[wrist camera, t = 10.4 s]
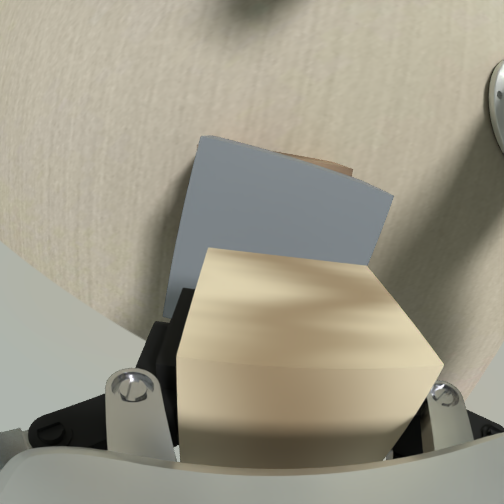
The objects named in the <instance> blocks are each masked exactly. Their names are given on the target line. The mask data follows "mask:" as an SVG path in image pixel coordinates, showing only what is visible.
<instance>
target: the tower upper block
mask: <svg viewBox="0 0 504 504" xmlns="http://www.w3.org/2000/svg"><path fill="white" fill-rule="evenodd" d="M393 197H394V196H393V195H391V194H389V193H387V192H385V191H383V190H381V189H379V188H377V187H375V186H373V185H370V184H368V183H366V182H364V181H362V180H359V179H356V178H353V177H351V176H348V175H345V174H342V173H339V172H336V171H333V170H330V169H327V168H324V167H321V166H318V165H315V164H312V163H309V162H306V161H303V160H300V159H296V158H293V157H290V156H287V155H283V154H280V153H276V152H273V151H269V150H266V149H262V148H259V147H255V146H252V145H248V144H244V143H240V142H236V141H233V140H229V139H225V138H221V137H217V136H201V137H200V141H199V145H198V149H197V153H196V156H195V160H194V164H193V169H192V173H191V177H190V181H189V185H188V189H187V194H186V198H185V202H184V207H183V211H182V216H181V221H180V225H179V230H178V235H177V240H176V245H175V250H174V255H173V260H172V265H171V271H170V276H169V282H168V287H167V293H166V299H165V305H164V311H163V317H166V318H170V319H171V318H172V315H173V313H174V310H175V307H176V304H177V302H178V299H179V296H180V294H181V291H182V288H191V289H196V286H197V282H198V279H199V276H200V272H201V269H202V266H203V263H204V259H205V256H206V253H207V250H208V248H217V249H226V250H234V251H243V252H252V253H261V254H269V255H278V256H287V257H295V258H304V259H313V260H321V261H330V262H339V263H348V264H356V265H365V266H367V265H368V263H369V260H370V258H371V255H372V253H373V251H374V248H375V246H376V243H377V241H378V238H379V235H380V233H381V230H382V228H383V225H384V222H385V220H386V217H387V214H388V211H389V209H390V206H391V203H392V200H393Z"/></svg>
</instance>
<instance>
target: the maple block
mask: <svg viewBox="0 0 504 504" xmlns="http://www.w3.org/2000/svg"><path fill="white" fill-rule="evenodd" d="M176 365H177V408H178V431H179V448H180V462H181V463H189V464H199V465H208V466H219V467H232V468H252V469H302V468H323V467H336V466H347V465H356V464H365V463H372V462H379V461H383V459H384V458H385V457H386V456H387V454H388V453H389V452H390V450H391V449H392V448H393V446H394V445H395V443H396V442H397V441H398V439H399V438H400V436H401V435H402V434H403V432H404V431H405V429H406V428H407V426H408V425H409V423H410V422H411V420H412V419H413V417H414V416H415V414H416V413H417V411H418V410H419V408H420V406H421V405H422V403H423V402H424V400H425V398H426V397H427V395H428V393H429V392H430V390H431V388H432V386H433V385H434V383H435V381H436V379H437V378H438V376H439V374H440V372H441V370H442V368H443V367H444V364H443V362H442V361H441V360H440V358H439V357H438V356H437V354H436V353H435V352H434V350H433V349H432V347H431V346H430V345H429V343H428V342H427V341H426V339H425V338H424V337H423V335H422V334H421V333H420V331H419V330H418V329H417V328H416V326H415V325H414V324H413V322H412V321H411V320H410V319H409V317H408V316H407V315H406V313H405V312H404V311H403V310H402V308H401V307H400V306H399V305H398V303H397V302H396V301H395V300H394V298H393V297H392V296H391V295H390V293H389V292H388V291H387V290H386V288H385V287H384V286H383V285H382V284H381V282H380V281H379V280H378V279H377V278H376V276H375V275H374V274H373V273H372V272H371V270H370V269H369V268H368V267H367V266H365V265H356V264H348V263H339V262H330V261H321V260H313V259H304V258H295V257H287V256H278V255H269V254H261V253H252V252H243V251H234V250H226V249H217V248H208V250H207V253H206V256H205V259H204V263H203V266H202V269H201V272H200V276H199V279H198V282H197V286H196V289H195V292H194V296H193V299H192V303H191V306H190V310H189V313H188V316H187V320H186V323H185V327H184V331H183V334H182V338H181V341H180V345H179V348H178V352H177V356H176Z"/></svg>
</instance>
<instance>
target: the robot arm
mask: <svg viewBox="0 0 504 504" xmlns="http://www.w3.org/2000/svg"><path fill="white" fill-rule="evenodd" d="M489 110H490V117H491V122H492V126H493V131H494V133H495V136H496V139H497V142H498V144H499V146H500V148H501V150H502V152H503V154H504V60H503V61H501V62H500V63H499V64H498V65H497V66H496V67H495V69H494V72H493V74H492V77H491V81H490V86H489ZM194 292H195V289H191V288H182V291H181V294H180V296H179V299H178V302H177V304H176V307H175V310H174V313H173V315H172V318H171V321H170V323H166V322H159V321H156V322H155V323H154V324H153V327H152V329H151V331H150V334H149V336H148V339H147V341H146V343H145V346H144V348H143V351H142V353H141V356H140V358H139V360H138V363H137V365H136V368H128V369H122V370H119V371H117V372H115V373H114V374H112V375H111V376H110V377H109V379H108V380H107V382H106V387H105V394H102V395H100V396H97V397H95V398H92V399H89V400H86V401H83V402H81V403H78V404H75V405H72V406H70V407H67V408H64V409H61V410H58V411H55V412H52V413H49V414H46V415H43V416H41V417H39V418H37V419H36V420H35V421H34V422H33V423H32V424H31V426H30V428H29V430H26V431H22V430H21V429H20V428H17V429H13V430H9V431H5V432H0V504H504V428H503V427H502V426H501V425H499V424H497V423H495V422H492V421H490V420H488V419H486V418H484V417H482V416H479V415H477V414H475V413H473V412H470V411H469V410H467V409H466V407H465V403H464V400H463V397H462V394H461V392H460V391H459V390H458V389H457V388H456V387H455V386H453V385H452V384H450V383H448V382H445V381H437V380H436V381H435V383H434V385H433V386H432V388H431V390H430V392H429V393H428V395H427V397H426V398H425V400H424V402H423V403H422V405H421V406H420V408H419V410H418V411H417V413H416V414H415V416H414V417H413V419H412V420H411V422H410V423H409V425H408V426H407V428H406V429H405V431H404V432H403V434H402V435H401V436H400V438H399V439H398V441H397V442H396V443H395V445H394V446H393V448H392V449H391V450H390V452H389V453H388V454H387V456H386V461H379V462H372V463H365V464H356V465H347V466H336V467H323V468H302V469H252V468H232V467H219V466H208V465H199V464H189V463H181V462H177V460H176V456H175V452H174V447H176V446H177V445H179V431H178V408H177V365H176V356H177V352H178V348H179V345H180V341H181V338H182V334H183V331H184V327H185V323H186V320H187V316H188V313H189V310H190V306H191V303H192V299H193V296H194Z"/></svg>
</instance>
